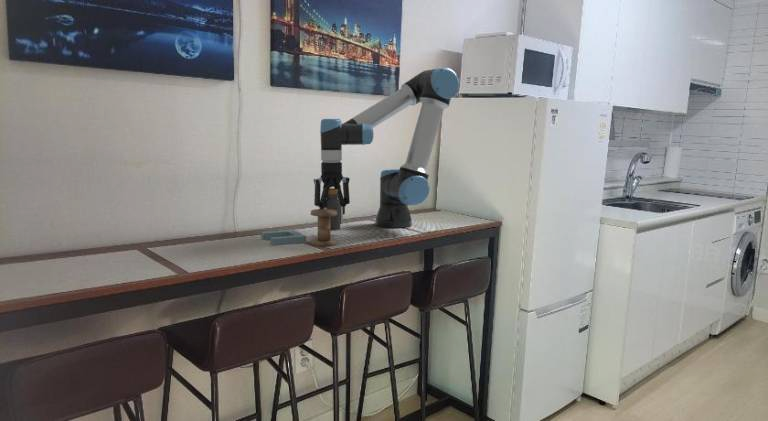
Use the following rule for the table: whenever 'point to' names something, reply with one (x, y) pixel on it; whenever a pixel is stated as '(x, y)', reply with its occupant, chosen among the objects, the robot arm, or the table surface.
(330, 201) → the bottle
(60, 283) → the table surface
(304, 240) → the bracket
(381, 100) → the robot arm
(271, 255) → the table surface
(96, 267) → the table surface
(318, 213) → the wooden spool
